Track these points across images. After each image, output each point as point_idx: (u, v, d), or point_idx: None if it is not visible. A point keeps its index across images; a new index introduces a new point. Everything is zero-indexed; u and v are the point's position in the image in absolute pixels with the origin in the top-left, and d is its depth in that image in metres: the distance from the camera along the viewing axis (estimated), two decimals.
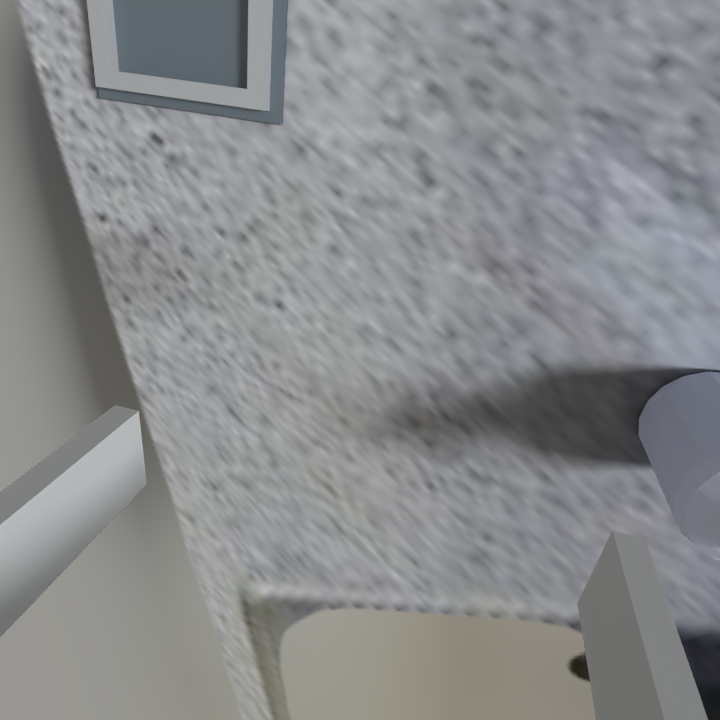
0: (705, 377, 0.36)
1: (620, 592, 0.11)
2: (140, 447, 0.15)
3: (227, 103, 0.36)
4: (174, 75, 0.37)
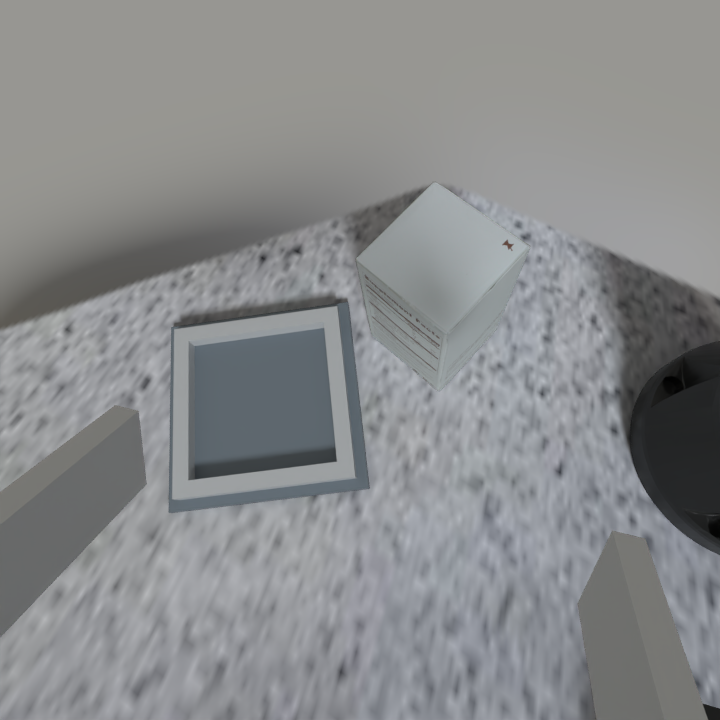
0: None
1: (619, 591, 0.11)
2: (140, 447, 0.15)
3: (174, 461, 0.37)
4: (197, 400, 0.40)
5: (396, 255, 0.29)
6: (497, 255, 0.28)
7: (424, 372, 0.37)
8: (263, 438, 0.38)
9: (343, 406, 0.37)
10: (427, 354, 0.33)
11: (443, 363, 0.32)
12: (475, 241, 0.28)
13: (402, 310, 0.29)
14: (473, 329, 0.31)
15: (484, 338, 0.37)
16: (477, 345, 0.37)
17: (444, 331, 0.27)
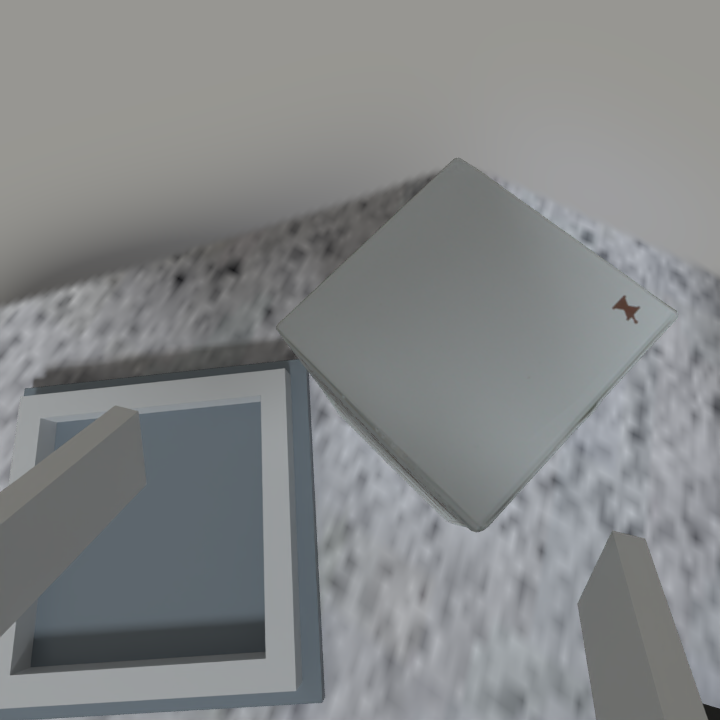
0: None
1: (619, 591, 0.11)
2: (140, 447, 0.15)
3: None
4: None
5: (367, 324, 0.13)
6: (602, 335, 0.12)
7: (426, 500, 0.21)
8: (150, 594, 0.23)
9: (283, 552, 0.21)
10: (431, 500, 0.17)
11: None
12: (548, 297, 0.12)
13: (377, 441, 0.13)
14: None
15: None
16: None
17: (471, 523, 0.11)
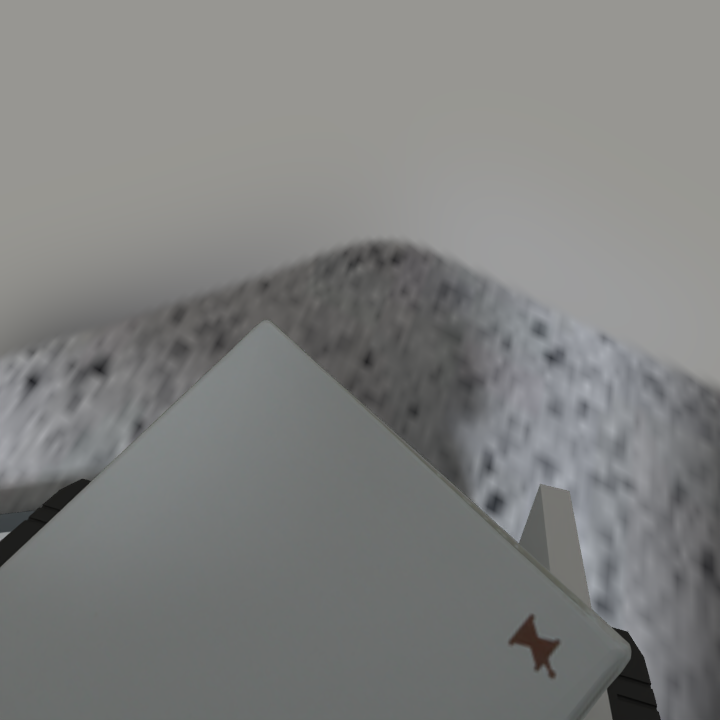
0: None
1: (540, 535, 0.12)
2: None
3: None
4: None
5: (66, 656, 0.07)
6: (488, 704, 0.06)
7: None
8: None
9: None
10: None
11: None
12: (393, 614, 0.07)
13: None
14: None
15: None
16: None
17: None
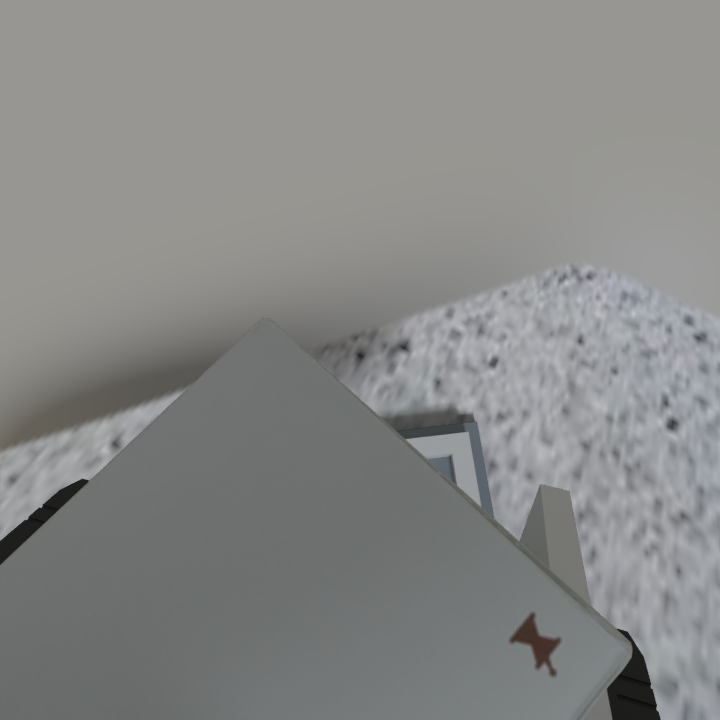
0: None
1: (540, 534, 0.12)
2: None
3: None
4: None
5: (65, 655, 0.07)
6: (488, 702, 0.06)
7: None
8: None
9: None
10: None
11: None
12: (394, 611, 0.07)
13: None
14: None
15: None
16: None
17: None
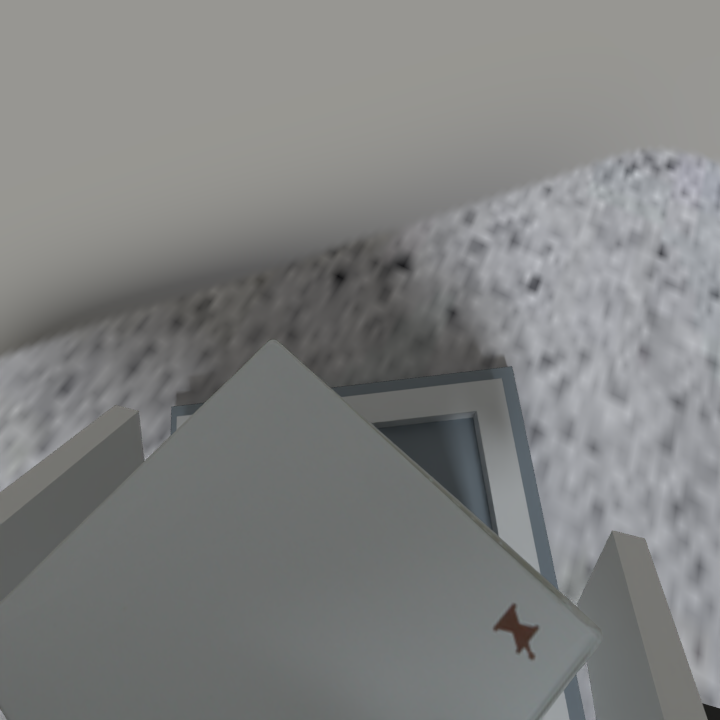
0: None
1: (619, 591, 0.11)
2: (140, 447, 0.15)
3: None
4: None
5: (99, 646, 0.08)
6: (474, 682, 0.07)
7: None
8: None
9: None
10: None
11: None
12: (391, 604, 0.07)
13: None
14: None
15: None
16: None
17: None
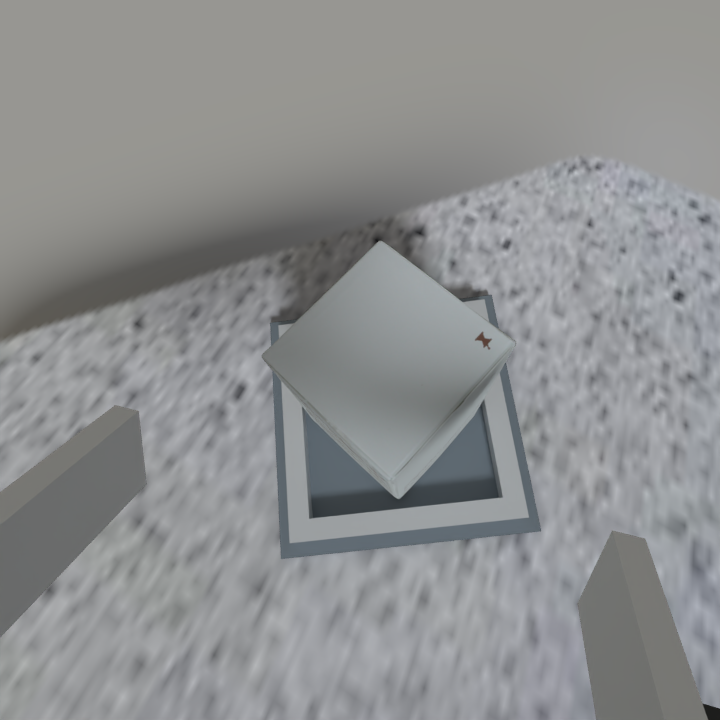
0: None
1: (620, 592, 0.11)
2: (140, 447, 0.15)
3: (289, 493, 0.29)
4: None
5: (320, 353, 0.20)
6: (468, 357, 0.19)
7: (377, 480, 0.28)
8: None
9: (504, 426, 0.29)
10: (374, 474, 0.23)
11: (395, 490, 0.23)
12: (435, 333, 0.19)
13: (330, 429, 0.20)
14: (436, 447, 0.22)
15: (457, 433, 0.28)
16: (448, 444, 0.28)
17: (385, 476, 0.18)
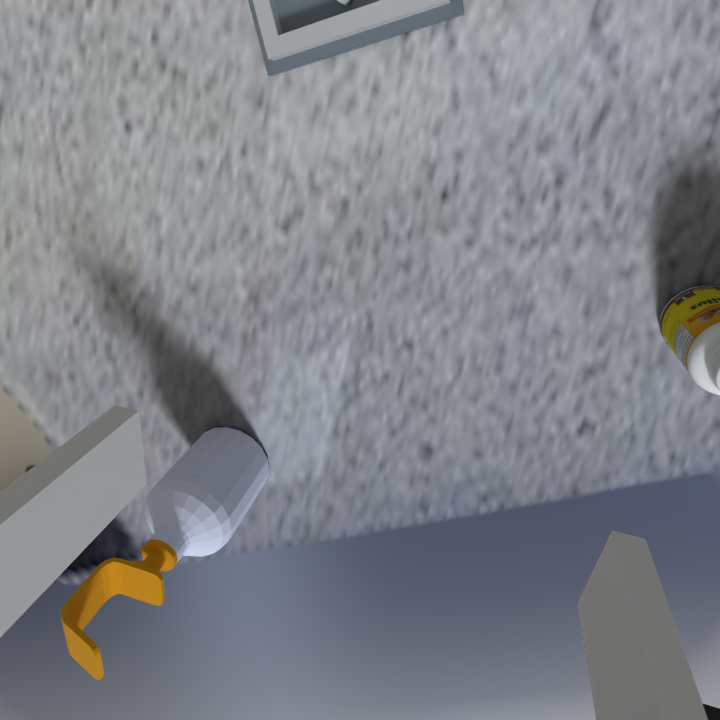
0: (256, 449, 0.55)
1: (620, 592, 0.11)
2: (140, 447, 0.15)
3: (258, 16, 0.36)
4: None
5: None
6: None
7: None
8: None
9: None
10: None
11: None
12: None
13: None
14: None
15: None
16: None
17: None
